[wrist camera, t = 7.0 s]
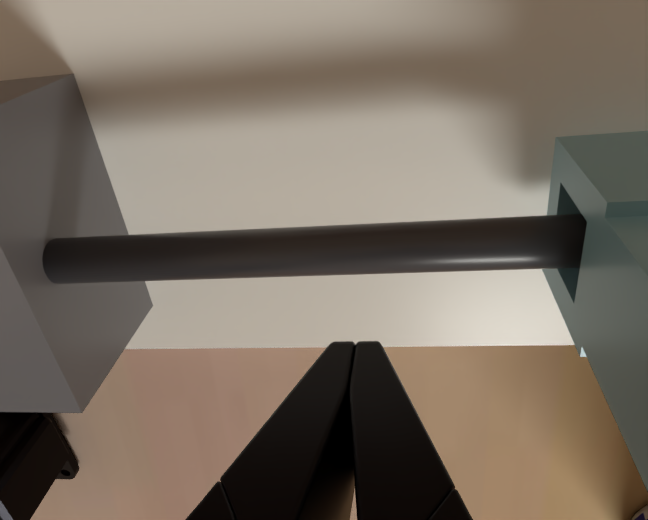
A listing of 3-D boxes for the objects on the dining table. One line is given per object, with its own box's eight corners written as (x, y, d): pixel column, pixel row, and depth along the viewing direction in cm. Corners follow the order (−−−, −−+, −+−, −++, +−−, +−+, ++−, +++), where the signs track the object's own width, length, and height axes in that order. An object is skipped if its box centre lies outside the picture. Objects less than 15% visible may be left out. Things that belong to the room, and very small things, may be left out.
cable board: (112, 325, 22) (-7, 487, 15) (-18, 0, 15) (-307, 46, 9) (839, 312, 17) (1092, 529, 11) (1054, -137, 11) (1896, -232, 5)
